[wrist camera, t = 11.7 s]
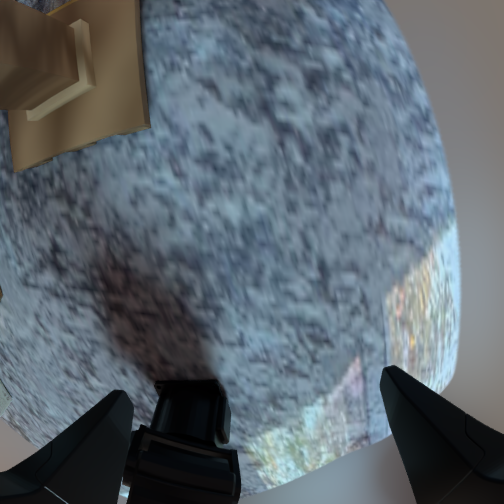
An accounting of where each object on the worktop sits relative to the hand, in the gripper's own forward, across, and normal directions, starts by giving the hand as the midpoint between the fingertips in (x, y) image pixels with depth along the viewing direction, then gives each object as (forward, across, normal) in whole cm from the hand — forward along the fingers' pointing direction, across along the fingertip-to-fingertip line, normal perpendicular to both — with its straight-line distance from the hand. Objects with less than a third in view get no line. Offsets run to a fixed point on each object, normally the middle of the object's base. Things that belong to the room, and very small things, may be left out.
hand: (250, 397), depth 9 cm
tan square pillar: (+10, +11, -16) cm, 22 cm away
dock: (+13, +11, -16) cm, 23 cm away
